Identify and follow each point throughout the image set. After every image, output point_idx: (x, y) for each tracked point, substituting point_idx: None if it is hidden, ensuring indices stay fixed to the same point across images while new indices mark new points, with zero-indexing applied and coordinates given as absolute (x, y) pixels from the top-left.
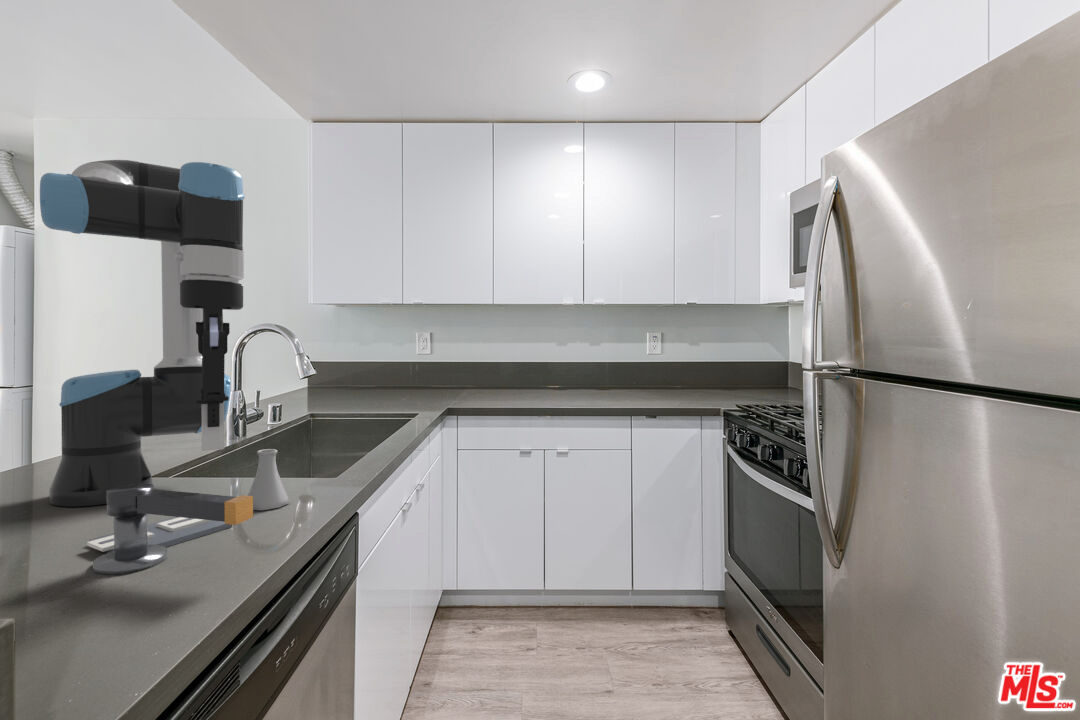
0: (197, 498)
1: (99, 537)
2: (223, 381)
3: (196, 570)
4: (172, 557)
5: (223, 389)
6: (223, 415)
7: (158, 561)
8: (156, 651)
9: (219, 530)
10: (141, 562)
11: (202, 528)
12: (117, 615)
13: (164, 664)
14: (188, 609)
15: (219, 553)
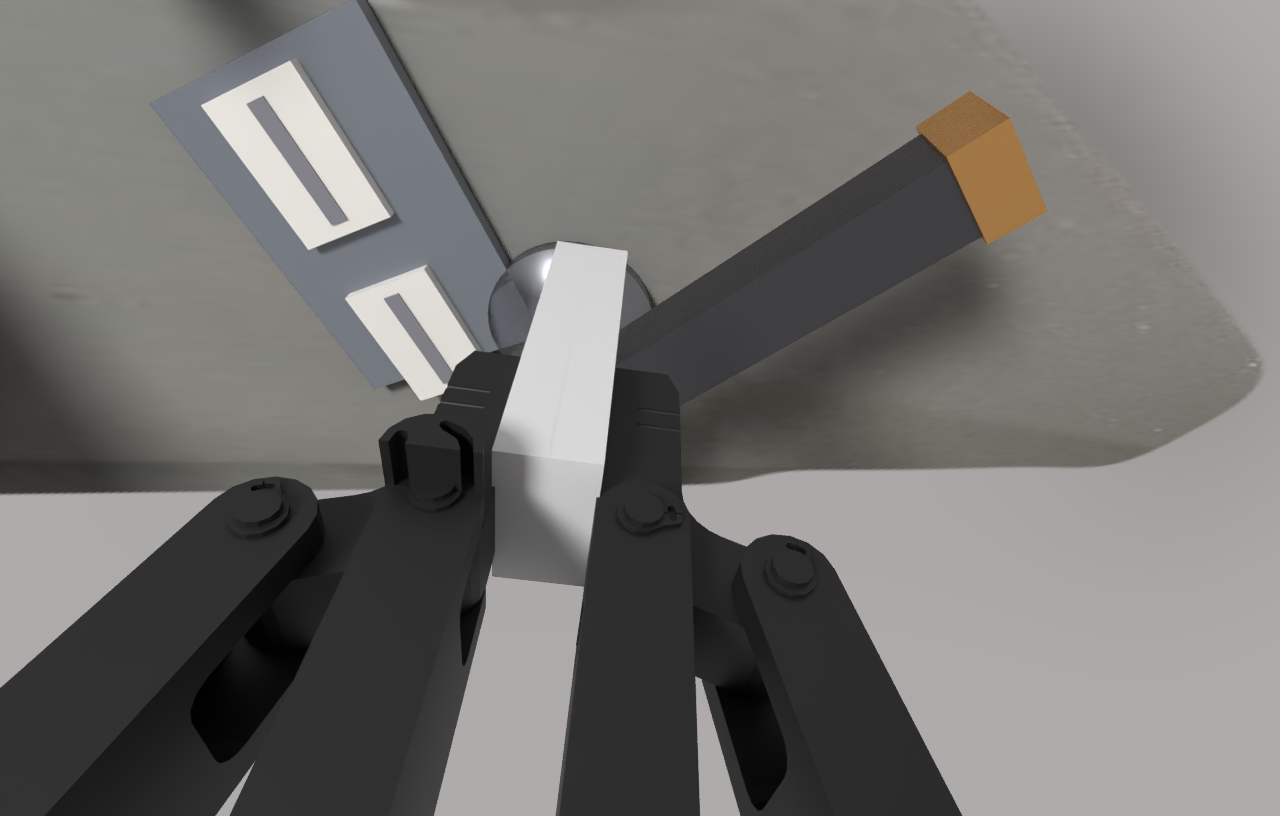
0: (819, 308)
1: (365, 371)
2: (936, 769)
3: (755, 193)
4: (599, 231)
5: (878, 659)
6: (611, 391)
7: (630, 271)
8: (1136, 326)
9: (395, 55)
10: (640, 312)
11: (399, 123)
12: (894, 363)
13: (1205, 321)
14: (1002, 251)
15: (652, 106)
